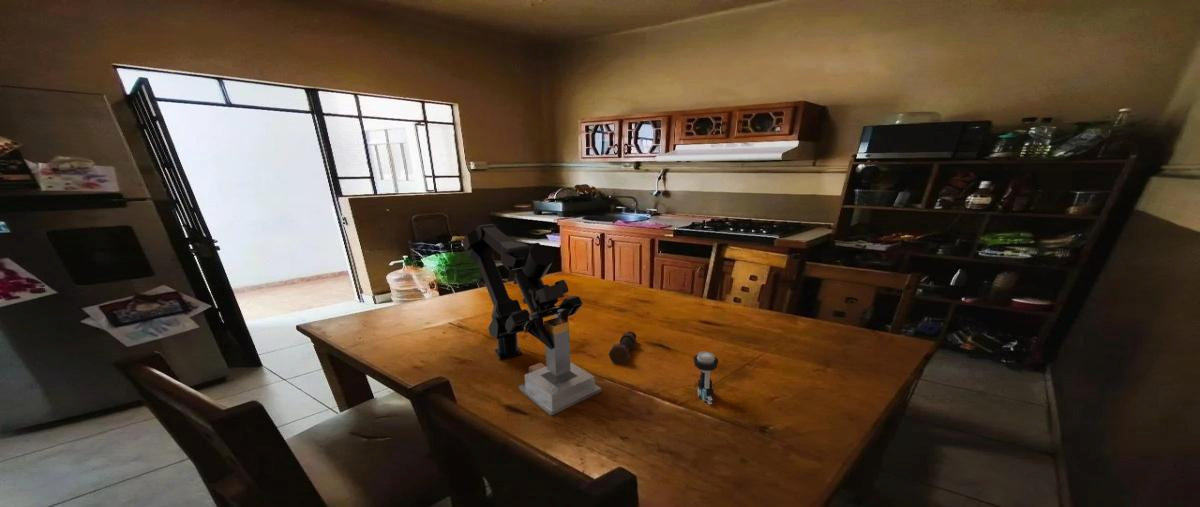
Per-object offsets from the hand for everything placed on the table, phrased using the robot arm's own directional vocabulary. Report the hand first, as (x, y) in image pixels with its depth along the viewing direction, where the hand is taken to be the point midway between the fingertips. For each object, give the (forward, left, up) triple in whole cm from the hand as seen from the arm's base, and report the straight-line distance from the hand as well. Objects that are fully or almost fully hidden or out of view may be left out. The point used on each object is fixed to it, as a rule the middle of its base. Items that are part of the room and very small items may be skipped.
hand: (560, 345), depth 87 cm
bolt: (-10, +24, -12) cm, 29 cm away
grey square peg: (-1, 0, -7) cm, 7 cm away
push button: (+19, +27, -12) cm, 35 cm away
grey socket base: (-3, -1, -12) cm, 12 cm away
